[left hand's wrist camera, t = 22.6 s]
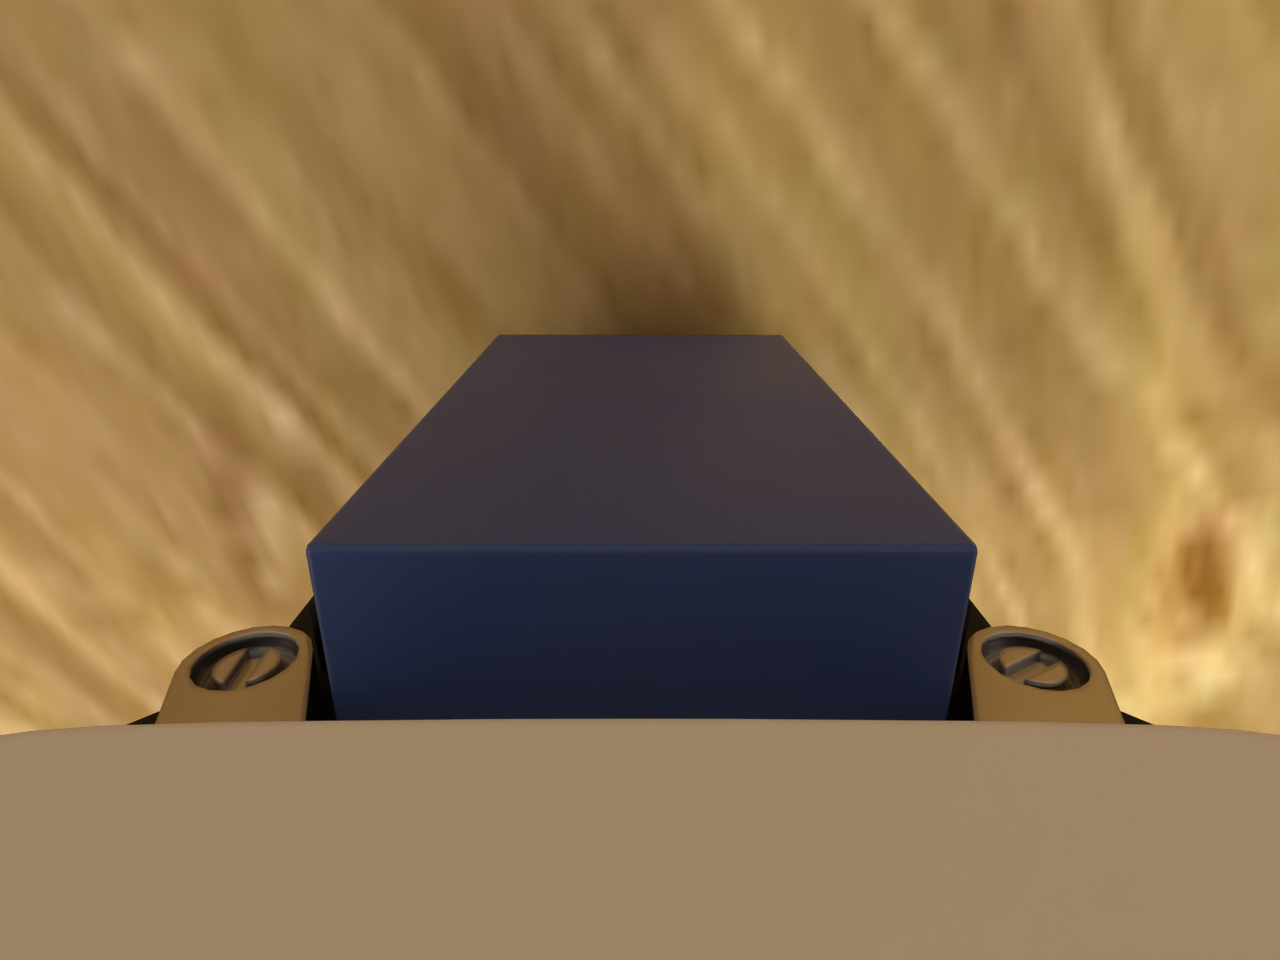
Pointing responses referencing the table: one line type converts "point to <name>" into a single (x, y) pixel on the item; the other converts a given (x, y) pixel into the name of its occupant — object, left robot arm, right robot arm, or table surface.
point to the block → (641, 547)
